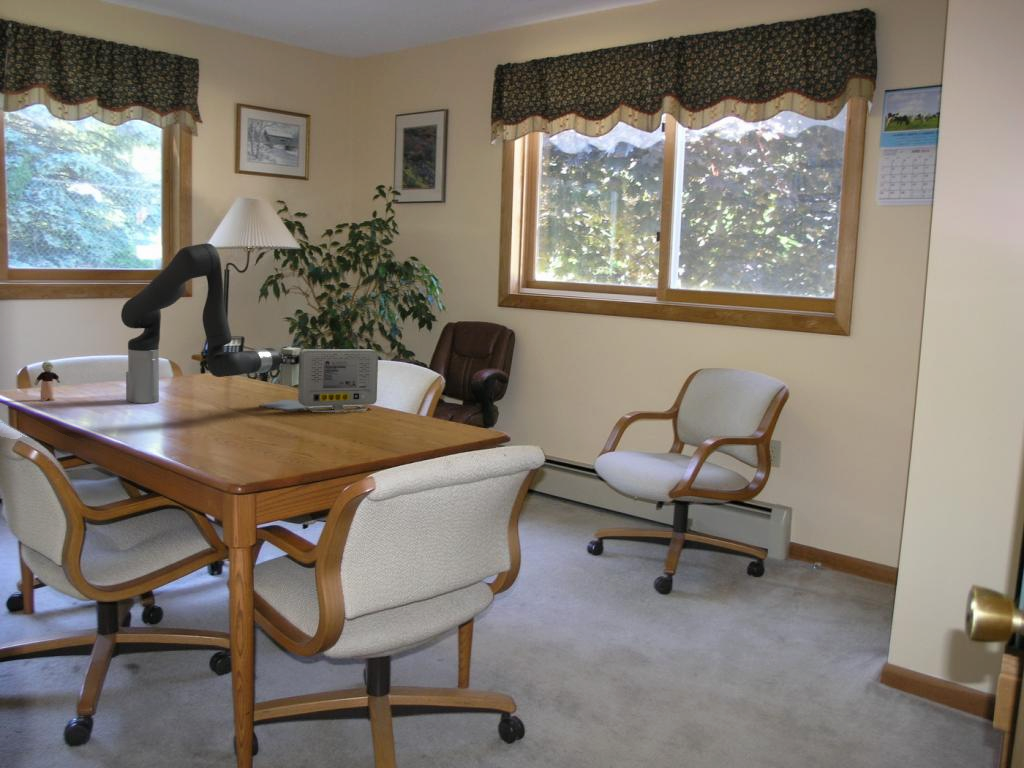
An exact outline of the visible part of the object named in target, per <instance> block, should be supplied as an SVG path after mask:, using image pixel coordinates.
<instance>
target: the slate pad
mask: <svg viewBox="0 0 1024 768" xmlns="http://www.w3.org/2000/svg"><path fill="white" fill-rule="evenodd" d="M258 406H259V408H264V407H266V408H265V409H271V408H274V409H273V410H278V409H279V410H281V411H285V410H286V412H292V411H293V412H294V411H295V412H297V411H298V410H299V411H303V410H302V409H304V410H307V409H306V408H309V407H314V406H303V405H302V404H300V403H299V401H298V400H291V399H283V400H277V401H274V402H273V401H272V402H267V403H262V404H259V405H258ZM295 412H294V413H295Z"/></svg>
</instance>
